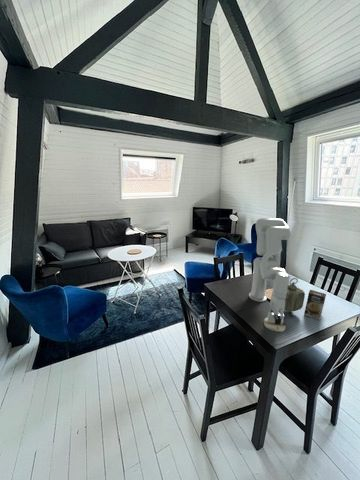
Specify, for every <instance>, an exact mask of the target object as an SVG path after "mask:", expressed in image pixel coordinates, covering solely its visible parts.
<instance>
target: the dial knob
mask: <svg viewBox="0 0 360 480" xmlns="http://www.w3.org/2000/svg"><path fill="white" fill-rule="evenodd" d="M278 316H280V315H278ZM267 317H268V322H269V323H274V324H275V318H276V314H275V313H274V312H271V310H269V311H268V314H267ZM284 317H285V315H284V314H283V318H282V319H281V324H280V325H282V324H284V325H286V323H285V322H284ZM283 322H284V323H283Z"/></svg>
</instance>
